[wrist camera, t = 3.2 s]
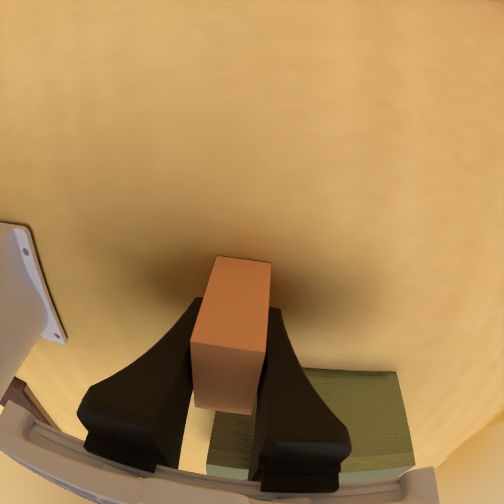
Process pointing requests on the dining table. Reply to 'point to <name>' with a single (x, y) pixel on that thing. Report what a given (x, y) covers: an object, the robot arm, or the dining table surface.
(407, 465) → the green tissue box
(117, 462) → the robot arm
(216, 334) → the orange rectangular block
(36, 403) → the notebook
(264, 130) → the dining table surface
